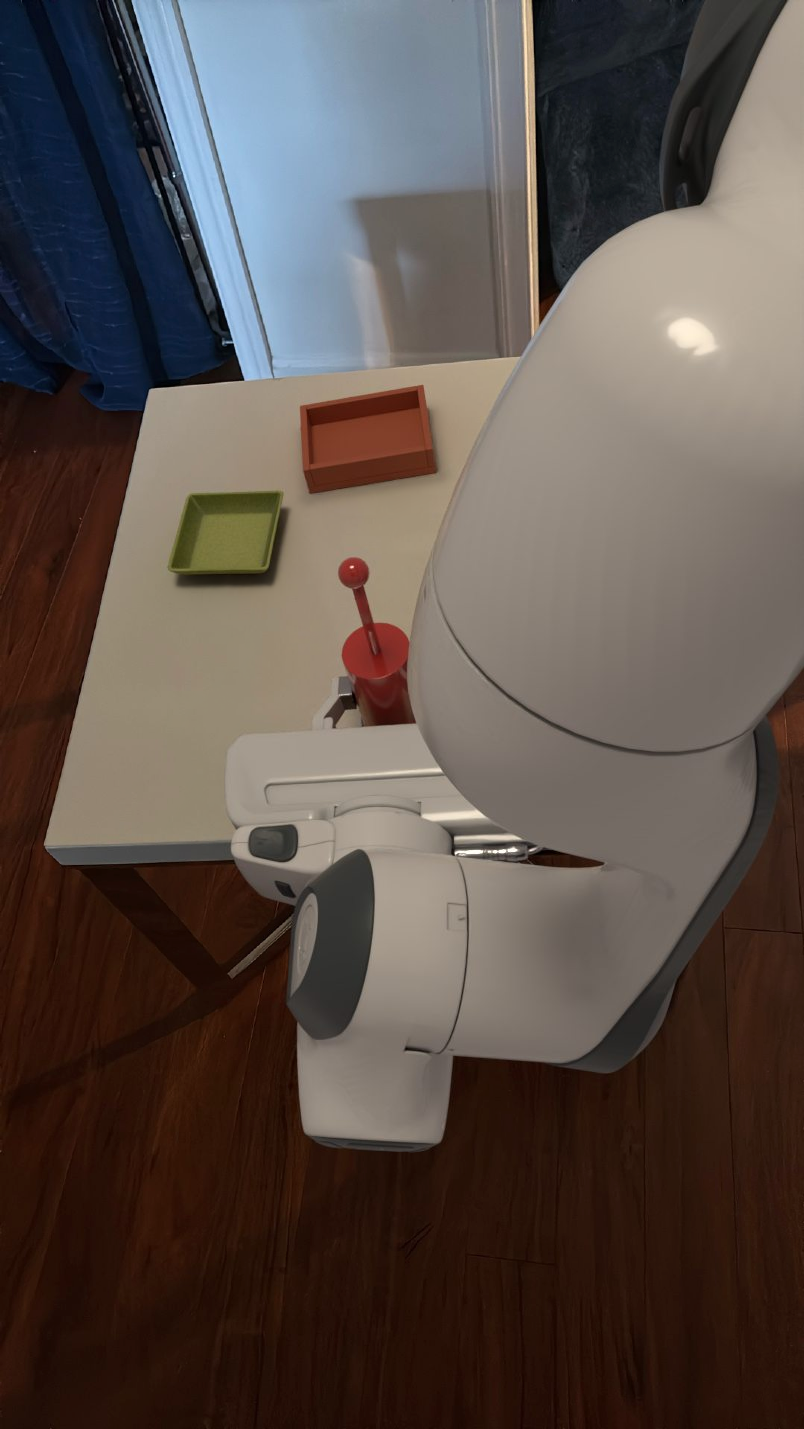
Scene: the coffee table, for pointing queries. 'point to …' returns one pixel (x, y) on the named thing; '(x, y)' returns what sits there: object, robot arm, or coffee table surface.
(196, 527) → the green tray
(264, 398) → the coffee table surface
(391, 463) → the red tray
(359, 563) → the red ball-topped plunger
